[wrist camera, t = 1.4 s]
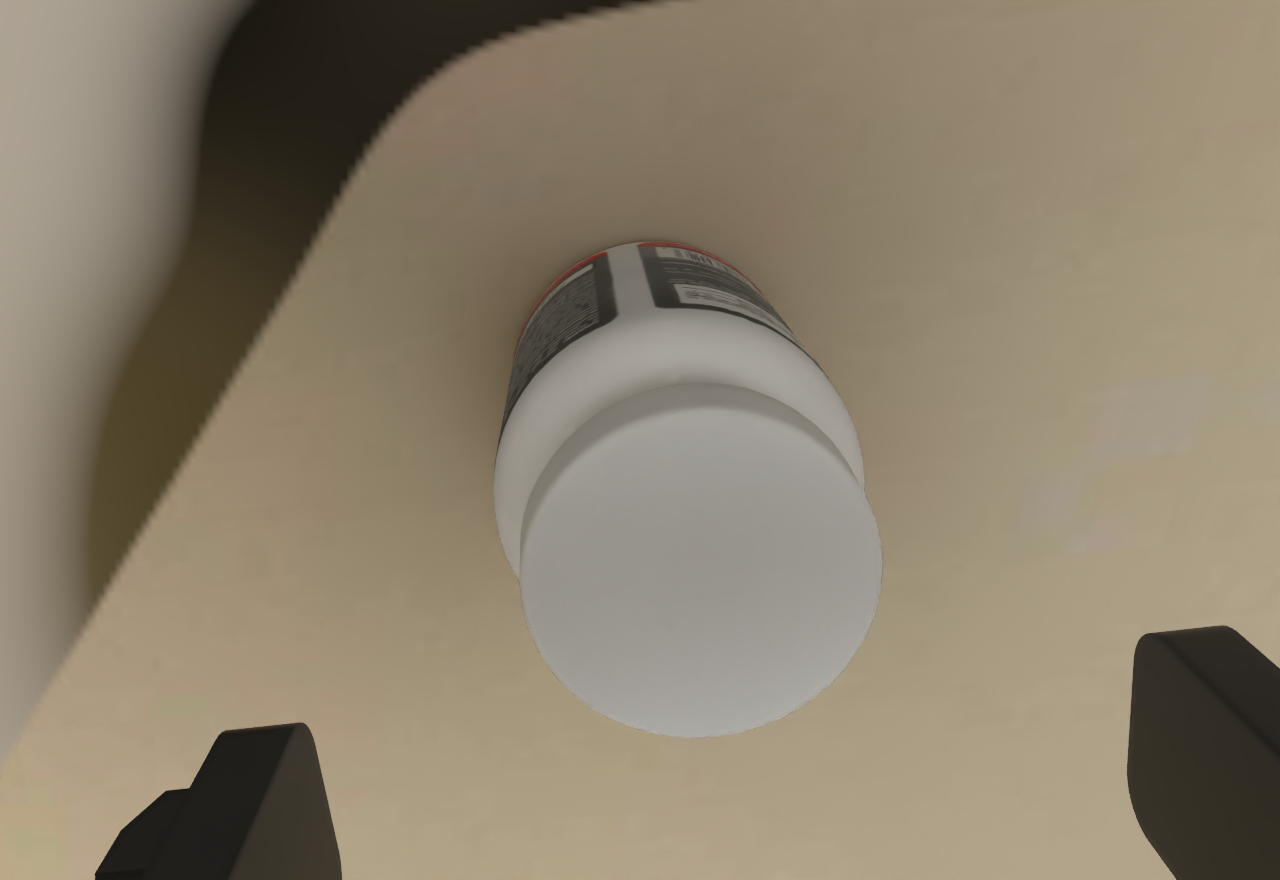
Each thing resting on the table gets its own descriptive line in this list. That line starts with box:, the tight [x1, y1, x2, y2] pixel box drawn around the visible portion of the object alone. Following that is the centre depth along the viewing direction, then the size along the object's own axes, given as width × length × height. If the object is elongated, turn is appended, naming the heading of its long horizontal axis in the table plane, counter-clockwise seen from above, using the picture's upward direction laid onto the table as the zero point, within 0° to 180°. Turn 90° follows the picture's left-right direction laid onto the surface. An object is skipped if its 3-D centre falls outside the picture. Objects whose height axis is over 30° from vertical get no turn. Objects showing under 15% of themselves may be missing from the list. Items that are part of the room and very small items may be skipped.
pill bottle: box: [494, 241, 883, 738], centre depth 19 cm, size 6×6×10 cm
